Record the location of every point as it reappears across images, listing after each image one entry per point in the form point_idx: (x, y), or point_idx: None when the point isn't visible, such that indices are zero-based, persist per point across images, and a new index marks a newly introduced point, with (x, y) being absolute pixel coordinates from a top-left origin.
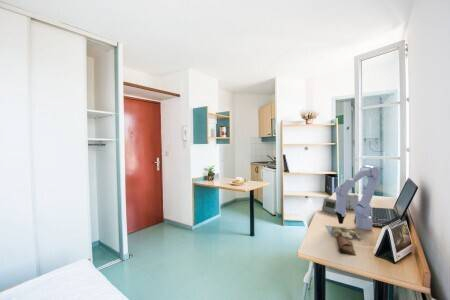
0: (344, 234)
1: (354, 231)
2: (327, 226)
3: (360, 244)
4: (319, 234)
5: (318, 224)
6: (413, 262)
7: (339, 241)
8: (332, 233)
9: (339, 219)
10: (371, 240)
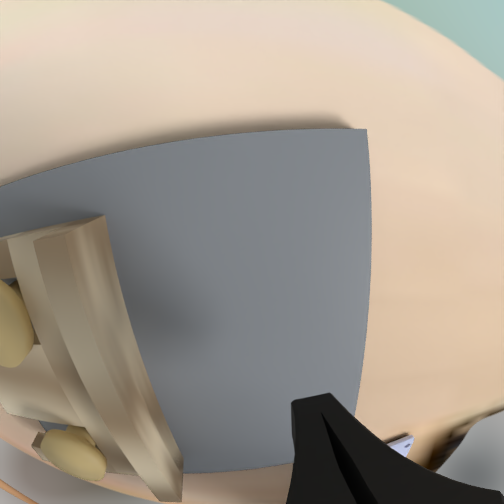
0: (11, 368)
1: (91, 477)
2: (322, 162)
3: (6, 417)
4: (11, 59)
5: (399, 54)
6: (16, 496)
7: None
8: (31, 222)
9: (306, 475)
10: (126, 492)
